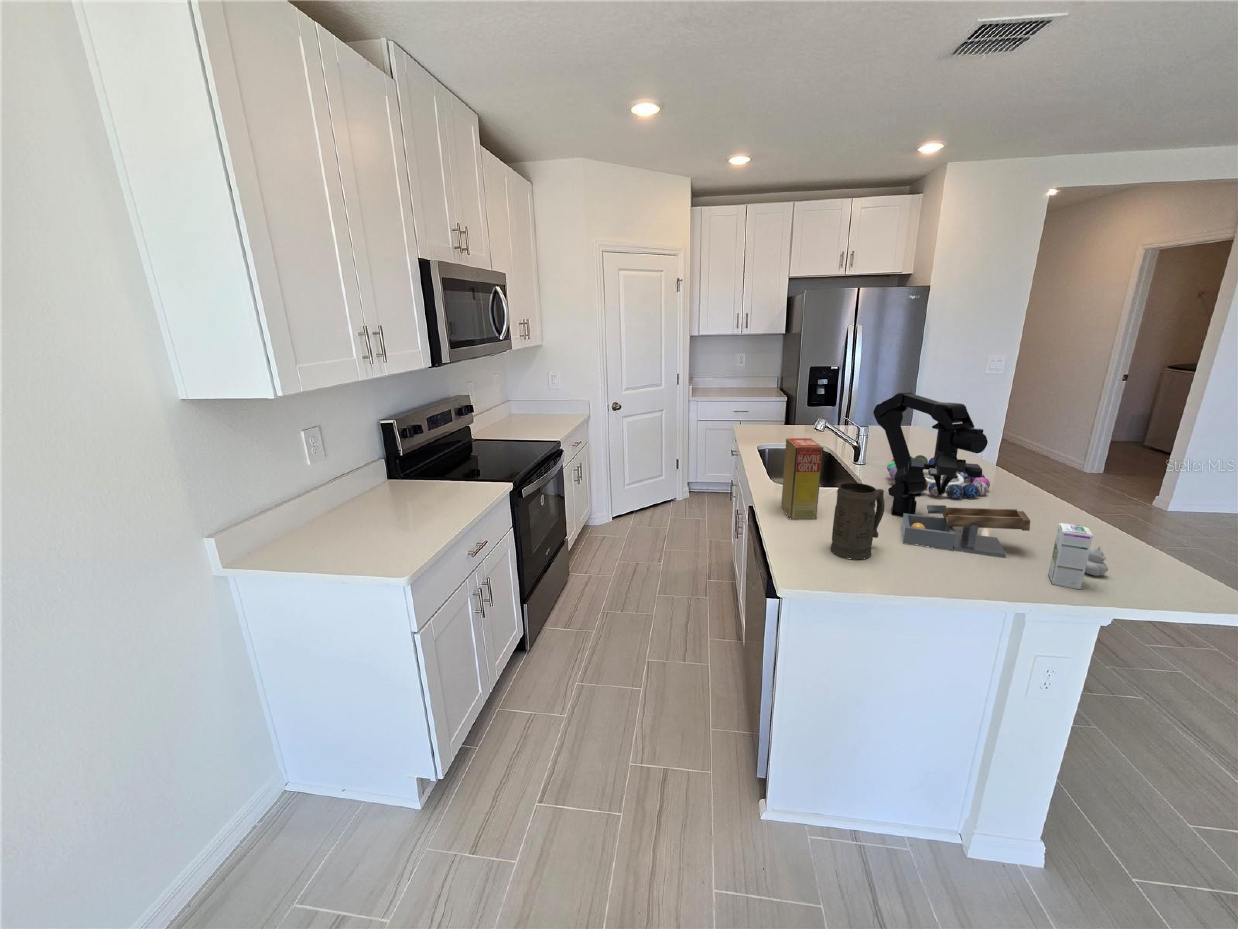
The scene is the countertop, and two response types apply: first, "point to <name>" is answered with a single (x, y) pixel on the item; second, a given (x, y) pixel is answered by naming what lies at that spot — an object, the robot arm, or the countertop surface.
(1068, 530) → the syrup box
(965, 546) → the lever stand
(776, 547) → the countertop surface
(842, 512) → the beer stein
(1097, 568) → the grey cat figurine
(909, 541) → the grey open tray
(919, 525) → the ball
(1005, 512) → the tipping lever
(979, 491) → the decorated egg ring holder
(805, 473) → the food packaging
